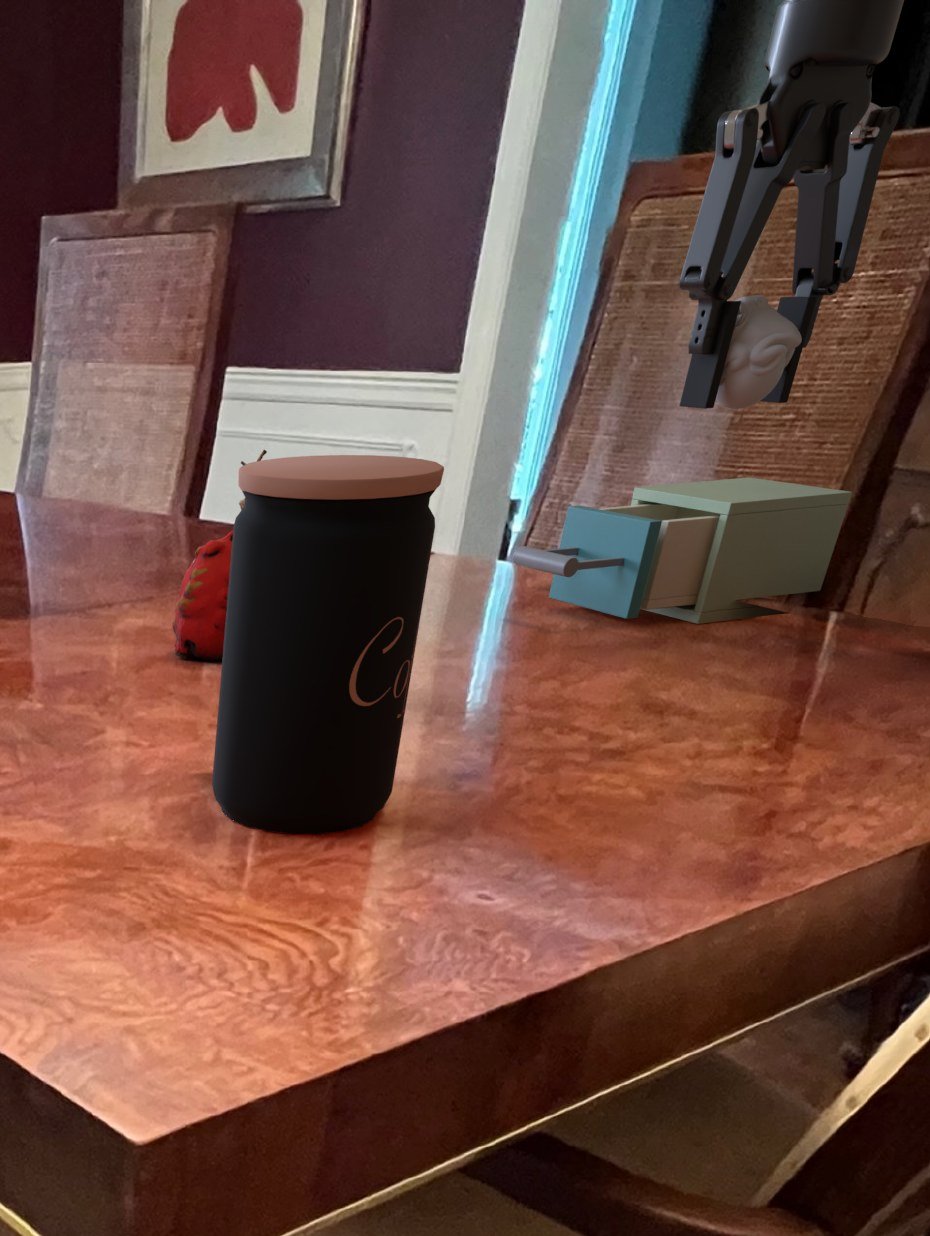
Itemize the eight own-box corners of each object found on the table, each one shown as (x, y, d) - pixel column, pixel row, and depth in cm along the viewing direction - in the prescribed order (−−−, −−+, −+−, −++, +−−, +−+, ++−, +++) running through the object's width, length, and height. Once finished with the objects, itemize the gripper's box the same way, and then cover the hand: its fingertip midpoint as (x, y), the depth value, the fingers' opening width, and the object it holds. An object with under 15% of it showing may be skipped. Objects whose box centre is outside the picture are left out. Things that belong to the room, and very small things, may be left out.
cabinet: (697, 624, 119) (731, 503, 114) (607, 600, 128) (634, 487, 123) (814, 610, 122) (852, 491, 117) (718, 588, 131) (749, 477, 126)
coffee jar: (354, 849, 77) (409, 482, 66) (181, 822, 82) (206, 474, 71) (411, 797, 84) (469, 457, 73) (249, 774, 89) (281, 452, 78)
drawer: (565, 625, 116) (587, 527, 112) (490, 604, 124) (508, 511, 120) (735, 606, 120) (763, 511, 116) (652, 586, 128) (675, 496, 124)
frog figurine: (695, 404, 108) (723, 295, 103) (792, 406, 104) (824, 292, 100) (672, 410, 104) (700, 297, 100) (771, 412, 100) (804, 295, 96)
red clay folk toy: (199, 642, 120) (214, 442, 111) (272, 650, 116) (293, 445, 107) (157, 659, 115) (169, 452, 106) (232, 668, 112) (251, 455, 102)
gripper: (771, -24, 85) (665, 415, 99) (1005, -20, 89) (872, 399, 103) (684, -4, 90) (595, 408, 104) (908, -1, 95) (794, 394, 109)
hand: (733, 403), depth 104 cm, fingers closed on frog figurine, 6 cm apart
